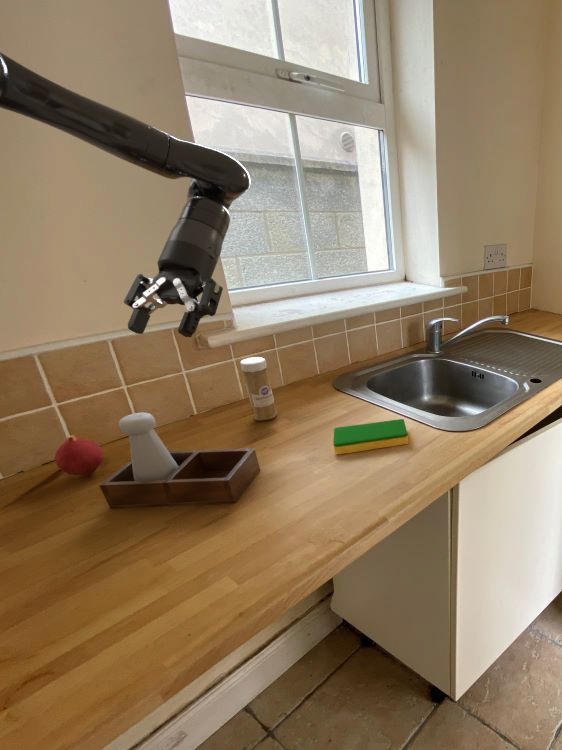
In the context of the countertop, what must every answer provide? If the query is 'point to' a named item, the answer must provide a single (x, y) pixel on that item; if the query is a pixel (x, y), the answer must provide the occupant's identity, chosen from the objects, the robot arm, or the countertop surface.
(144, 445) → the salt shaker
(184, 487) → the divided wooden tray
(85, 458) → the onion
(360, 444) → the dish sponge
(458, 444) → the countertop surface
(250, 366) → the sprinkles bottle
